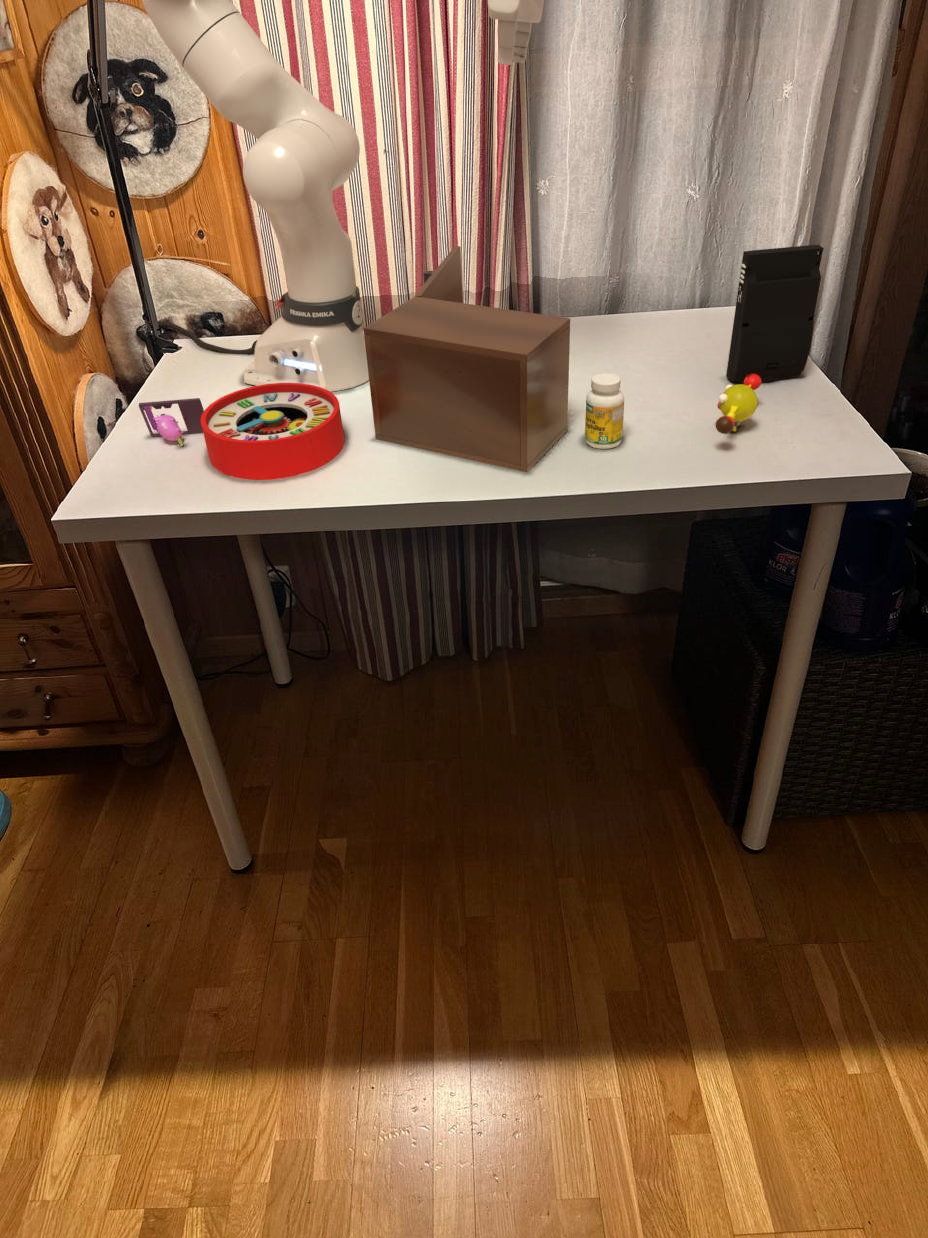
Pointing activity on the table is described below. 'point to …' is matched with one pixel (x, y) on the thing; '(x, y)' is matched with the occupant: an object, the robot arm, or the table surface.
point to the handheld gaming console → (774, 313)
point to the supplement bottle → (604, 412)
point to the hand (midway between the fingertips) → (511, 63)
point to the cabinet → (469, 380)
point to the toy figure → (737, 403)
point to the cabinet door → (444, 279)
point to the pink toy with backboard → (168, 424)
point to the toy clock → (273, 431)
